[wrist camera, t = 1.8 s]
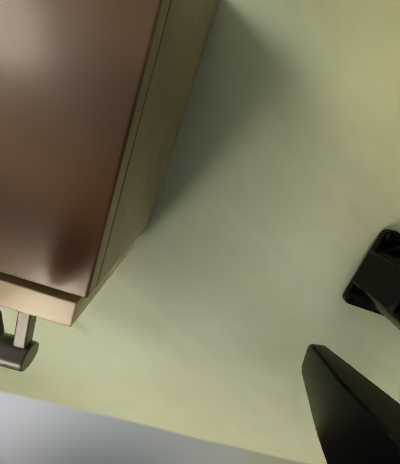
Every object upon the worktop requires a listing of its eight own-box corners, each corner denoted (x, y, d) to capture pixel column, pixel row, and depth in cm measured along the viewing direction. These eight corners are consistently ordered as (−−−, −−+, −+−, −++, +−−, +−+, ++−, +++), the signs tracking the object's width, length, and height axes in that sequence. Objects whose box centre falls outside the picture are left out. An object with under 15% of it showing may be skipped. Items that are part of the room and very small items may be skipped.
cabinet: (150, 220, 19) (86, 299, 8) (-20, 162, 18) (-326, 172, 7) (220, -7, 14) (259, -387, 4) (2, -103, 13) (-634, -914, 3)
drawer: (116, 302, 20) (50, 411, 11) (-30, 256, 19) (-220, 339, 10) (191, 46, 14) (174, -105, 6) (-6, -37, 13) (-355, -354, 5)
